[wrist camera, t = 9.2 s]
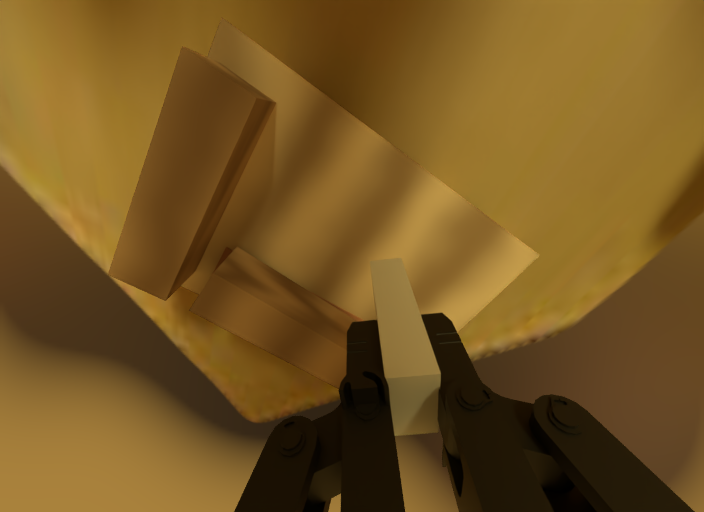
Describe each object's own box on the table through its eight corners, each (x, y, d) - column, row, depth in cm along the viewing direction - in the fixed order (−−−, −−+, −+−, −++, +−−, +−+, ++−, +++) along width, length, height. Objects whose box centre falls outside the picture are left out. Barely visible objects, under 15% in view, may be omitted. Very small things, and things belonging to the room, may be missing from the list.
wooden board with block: (156, 247, 24) (89, 292, 18) (241, 32, 18) (181, -16, 11) (393, 365, 31) (404, 428, 24) (518, 240, 24) (577, 282, 18)
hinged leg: (215, 279, 22) (185, 314, 18) (237, 246, 21) (210, 276, 17) (374, 370, 26) (379, 414, 22) (400, 348, 25) (409, 390, 21)
